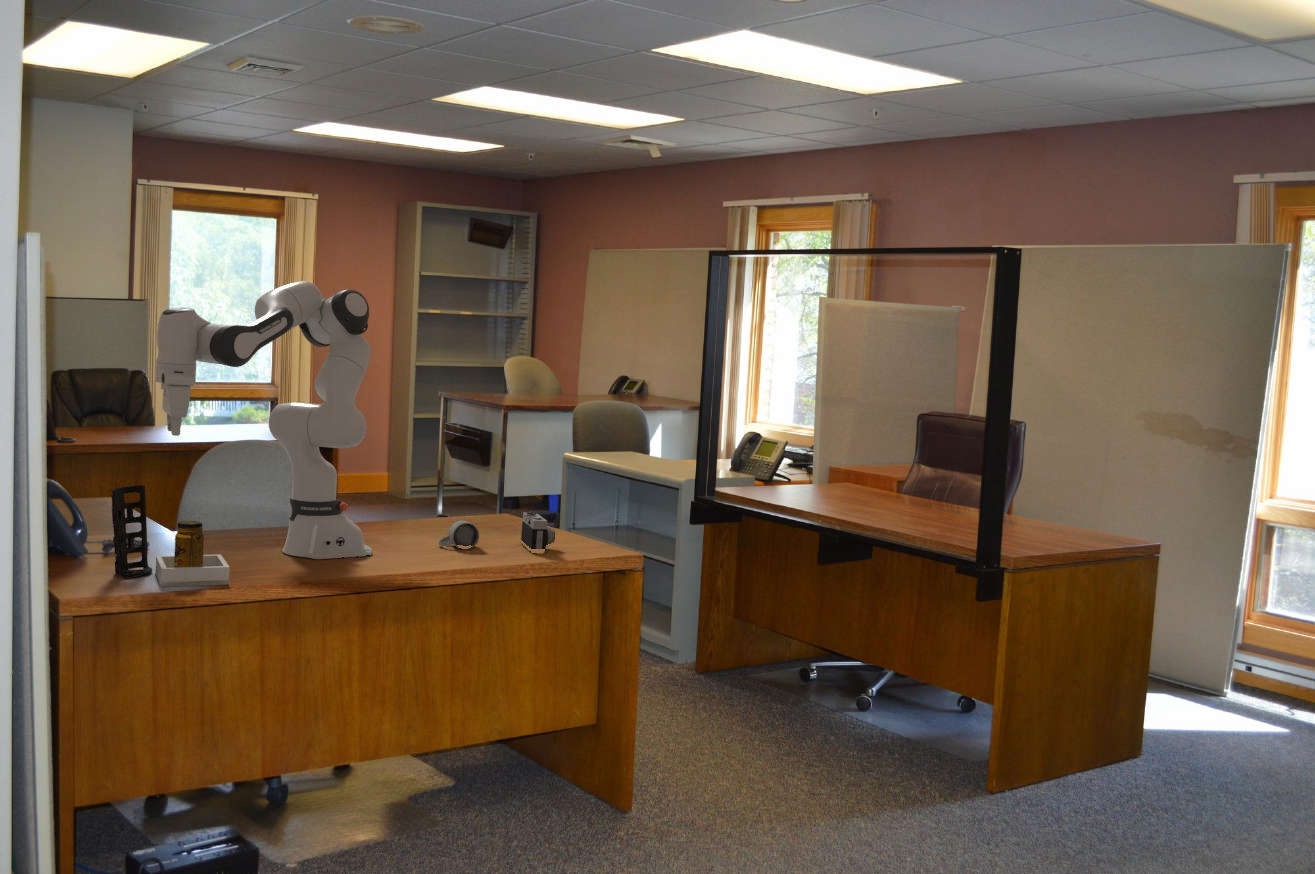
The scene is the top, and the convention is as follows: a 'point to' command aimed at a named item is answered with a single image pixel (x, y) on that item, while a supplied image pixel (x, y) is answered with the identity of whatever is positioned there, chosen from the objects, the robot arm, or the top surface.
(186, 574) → the tray
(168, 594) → the top surface
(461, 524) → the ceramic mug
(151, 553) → the top surface
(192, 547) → the condiment
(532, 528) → the camera
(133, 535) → the holder
